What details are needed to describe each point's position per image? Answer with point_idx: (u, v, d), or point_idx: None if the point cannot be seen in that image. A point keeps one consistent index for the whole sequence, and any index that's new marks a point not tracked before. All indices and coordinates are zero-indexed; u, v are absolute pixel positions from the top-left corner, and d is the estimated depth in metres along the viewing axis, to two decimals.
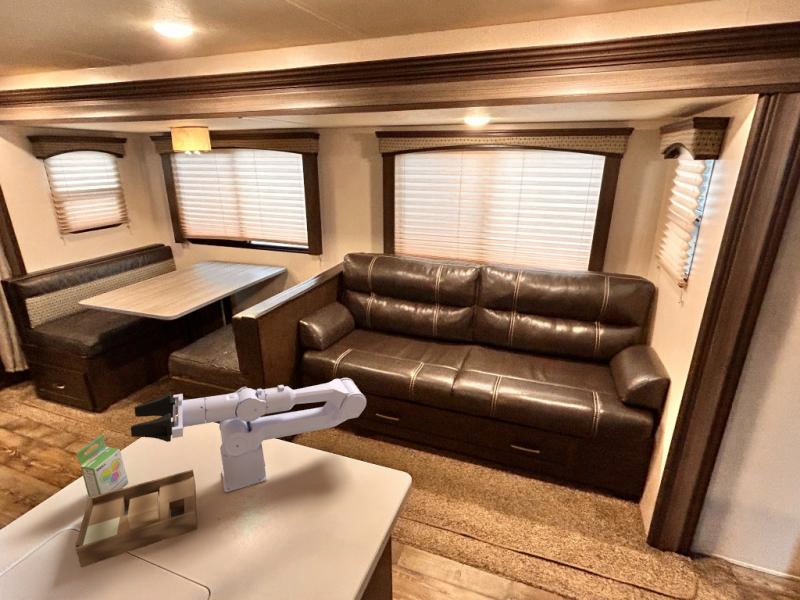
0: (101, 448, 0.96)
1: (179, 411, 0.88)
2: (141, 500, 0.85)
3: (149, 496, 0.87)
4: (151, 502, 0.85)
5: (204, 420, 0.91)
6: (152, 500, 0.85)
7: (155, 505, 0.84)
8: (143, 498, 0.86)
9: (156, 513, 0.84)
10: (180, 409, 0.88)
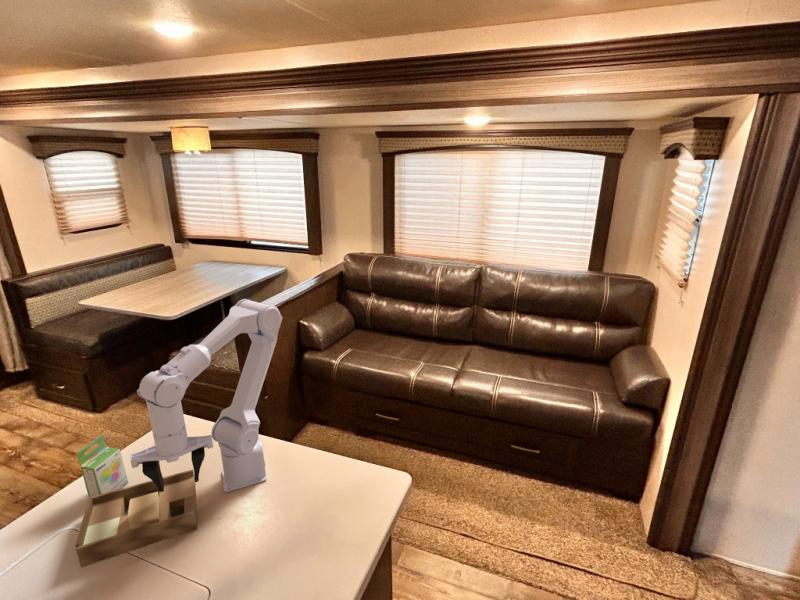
0: (101, 448, 0.96)
1: (188, 451, 0.83)
2: (141, 500, 0.85)
3: (149, 496, 0.87)
4: (151, 502, 0.85)
5: None
6: (152, 500, 0.85)
7: (155, 505, 0.84)
8: (143, 498, 0.86)
9: (156, 513, 0.84)
10: (185, 452, 0.83)
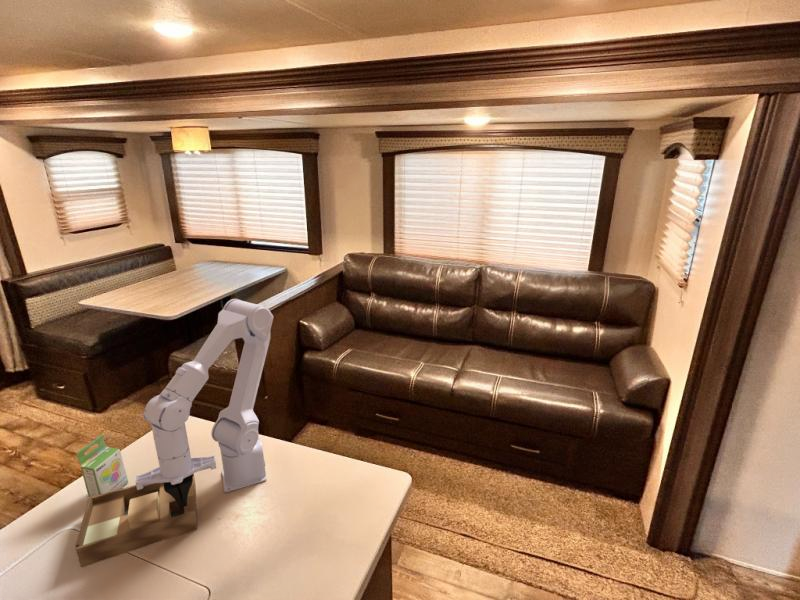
0: (101, 448, 0.96)
1: (191, 473, 0.85)
2: (141, 500, 0.85)
3: (149, 496, 0.87)
4: (151, 502, 0.85)
5: None
6: (152, 500, 0.85)
7: (155, 505, 0.84)
8: (143, 498, 0.86)
9: (156, 513, 0.84)
10: (189, 473, 0.85)
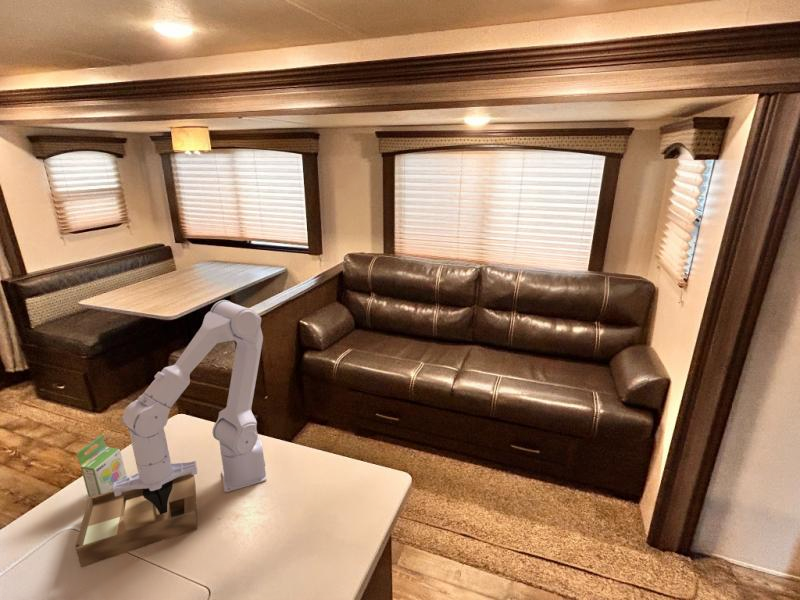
0: (101, 448, 0.96)
1: (171, 479, 0.83)
2: (137, 501, 0.85)
3: None
4: (147, 503, 0.85)
5: None
6: (148, 501, 0.85)
7: (151, 506, 0.84)
8: (139, 500, 0.86)
9: (152, 514, 0.84)
10: (168, 479, 0.83)
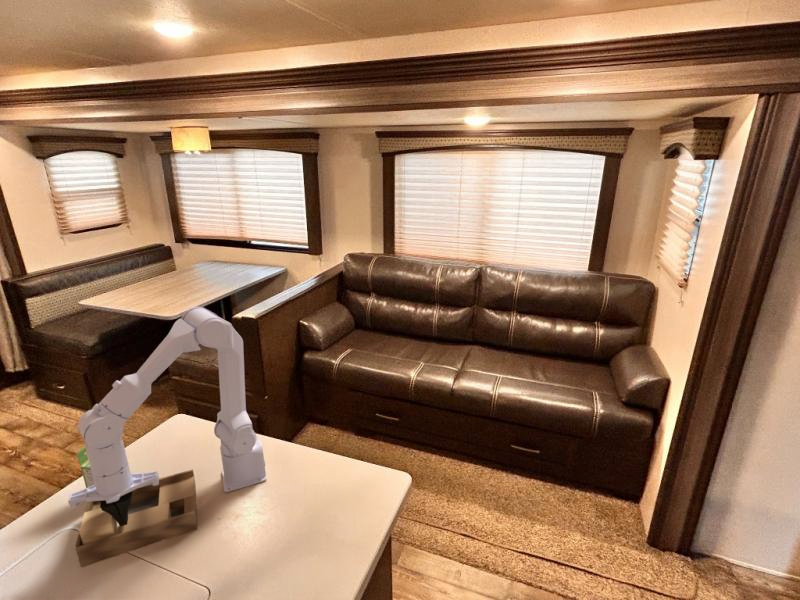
0: None
1: (130, 490, 0.80)
2: (96, 513, 0.82)
3: None
4: (105, 515, 0.82)
5: (127, 460, 0.82)
6: (107, 513, 0.82)
7: (110, 519, 0.81)
8: (98, 512, 0.83)
9: (111, 527, 0.81)
10: (127, 491, 0.80)
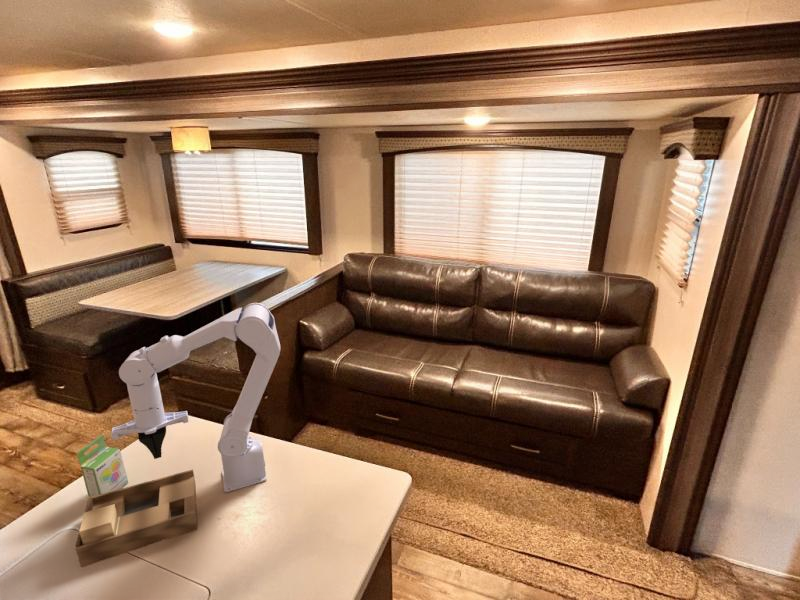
0: (101, 448, 0.96)
1: (164, 425, 0.91)
2: (96, 513, 0.82)
3: (105, 508, 0.83)
4: (106, 515, 0.82)
5: None
6: (107, 513, 0.82)
7: (110, 519, 0.81)
8: (98, 512, 0.83)
9: (111, 527, 0.81)
10: (162, 425, 0.91)
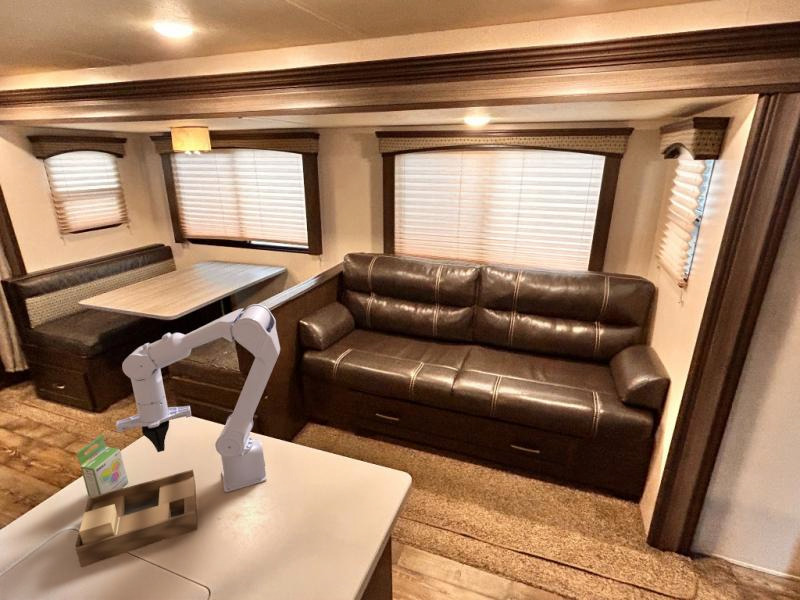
0: (101, 448, 0.96)
1: (167, 419, 0.94)
2: (96, 513, 0.82)
3: (105, 508, 0.83)
4: (106, 515, 0.82)
5: None
6: (107, 513, 0.82)
7: (110, 519, 0.81)
8: (98, 512, 0.83)
9: (111, 527, 0.81)
10: (165, 419, 0.93)
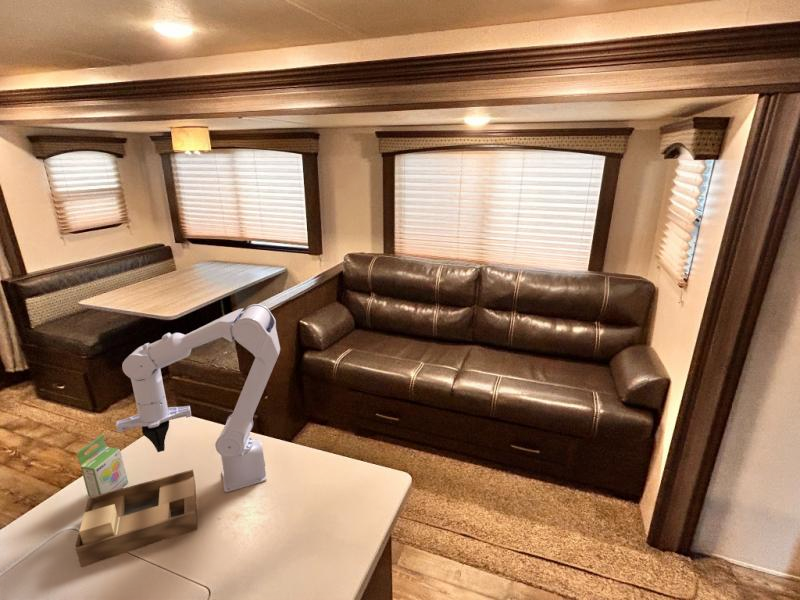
0: (101, 448, 0.96)
1: (167, 419, 0.94)
2: (96, 513, 0.82)
3: (105, 508, 0.83)
4: (106, 515, 0.82)
5: None
6: (107, 513, 0.82)
7: (110, 519, 0.81)
8: (98, 512, 0.83)
9: (111, 527, 0.81)
10: (165, 419, 0.93)
